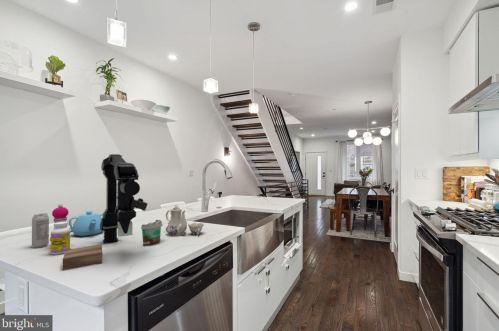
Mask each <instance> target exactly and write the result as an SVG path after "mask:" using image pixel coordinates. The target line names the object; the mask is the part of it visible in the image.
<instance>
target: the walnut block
mask: <svg viewBox="0 0 499 331" xmlns="http://www.w3.org/2000/svg"><path fill="white" fill-rule="evenodd" d="M100 264H103V245H102V244H97V245H89V246H88V245H87V246H82V247H75V248H70V249H67V250H66V252H65V253H64V254H63V257H62V271H66V270H73V269H78V268H82V267H90V266H95V265H100Z"/></svg>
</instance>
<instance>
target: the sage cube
mask: <svg viewBox="0 0 499 331" xmlns="http://www.w3.org/2000/svg"><path fill="white" fill-rule="evenodd" d="M128 236H133V221H132V220H131V221H130V224H129V228H128V232H127V233H126V234H124V232H123V229H122V227H121V225H120V222H118V228H117V238H122V237H128Z"/></svg>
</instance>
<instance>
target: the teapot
mask: <svg viewBox="0 0 499 331" xmlns="http://www.w3.org/2000/svg"><path fill="white" fill-rule="evenodd" d="M102 217H103V213H100V214H99V213H97V212H95V213H94V212H93V211H91V210H89V211H88V210H87V211H85V213H84V214H80V215H79V216H73V217H70V218H69V220H68V226H69V228H70V234H71V233H72V234H74V236H79V237H86V236H91V235H95V236H96V235H99V234H100V233H102V232H103V231H101V230H100V222H101V218H102ZM72 220H75V221H74V222H73V224H72Z"/></svg>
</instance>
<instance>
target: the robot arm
mask: <svg viewBox="0 0 499 331" xmlns="http://www.w3.org/2000/svg"><path fill="white" fill-rule="evenodd" d="M100 169H101V172H102V175H103V176H104V177H105V179H106V205H105V210H104V211H103V213H102V214H103V215H102V216H101V217H102V218H101V222H100V230H101V231H102V232H103V239H102V244H109V243H110V244H111V243H117V242H119V237H118V222H120V225H121V227H122V229H123V232H124V234H126V233H127V232H128V228H129V224H130V221H132V220H133V219H134V218H136V217H137V211H136V210H135V209H139V210H142V211H146V210H147V206H148V204H149V203H147V202H146V201H144V199H143V198H142V197H141V198H140V197H139V198H138V199H135V197H134V196H136V195H138V194H139V193H140V190H141V186H140V184H139V183H138V182H137V181H138V180H139V177H140V175H139V172H138V170H137V168H136V166H135V164H134V163H132V162H127V161H126V160H125V159H124V158H123V155H122V154H119V153H117V154H113V153H112V154H109V155H108V157H106V158H104V159H102V162H101V168H100Z"/></svg>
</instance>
